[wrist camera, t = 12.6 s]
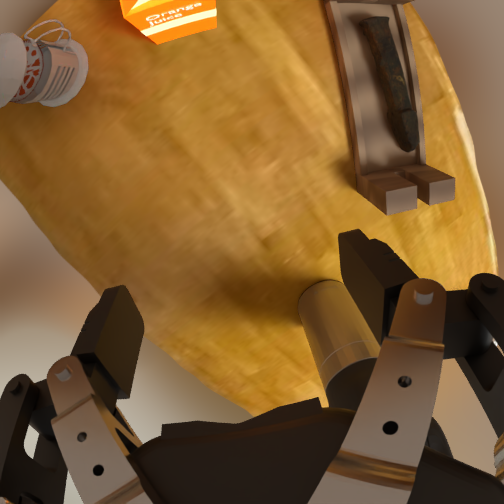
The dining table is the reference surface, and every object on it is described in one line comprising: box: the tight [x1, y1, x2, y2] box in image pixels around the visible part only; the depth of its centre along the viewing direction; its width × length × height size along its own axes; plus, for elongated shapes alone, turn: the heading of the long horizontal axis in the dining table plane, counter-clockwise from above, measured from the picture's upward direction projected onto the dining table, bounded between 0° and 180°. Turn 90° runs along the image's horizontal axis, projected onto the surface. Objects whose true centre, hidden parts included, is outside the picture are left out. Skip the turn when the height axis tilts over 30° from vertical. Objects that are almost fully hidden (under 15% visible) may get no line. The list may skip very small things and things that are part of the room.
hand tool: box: [359, 16, 420, 153], centre depth 32 cm, size 19×4×5 cm, turn 16°
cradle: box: [323, 0, 455, 215], centre depth 31 cm, size 30×11×9 cm, turn 12°
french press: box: [0, 20, 88, 108], centre depth 18 cm, size 10×12×25 cm
